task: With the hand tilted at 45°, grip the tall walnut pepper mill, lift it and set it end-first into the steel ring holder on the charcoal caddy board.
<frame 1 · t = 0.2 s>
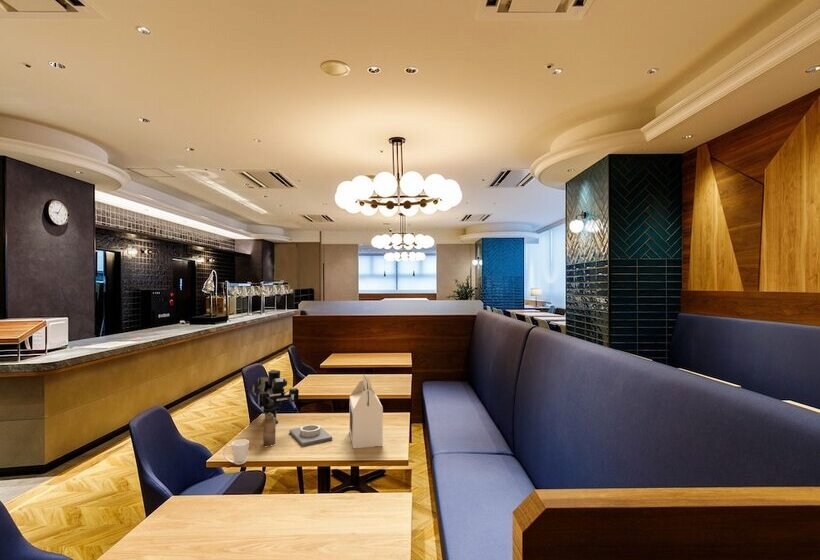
hand: (283, 402, 196), 17 cm above the table, tool horizontal, fingers open, 9 cm apart
caddy board: (310, 436, 198), on the table
gable box: (365, 439, 196), on the table
pepper mill: (269, 444, 188), on the table
cup: (236, 462, 169), on the table
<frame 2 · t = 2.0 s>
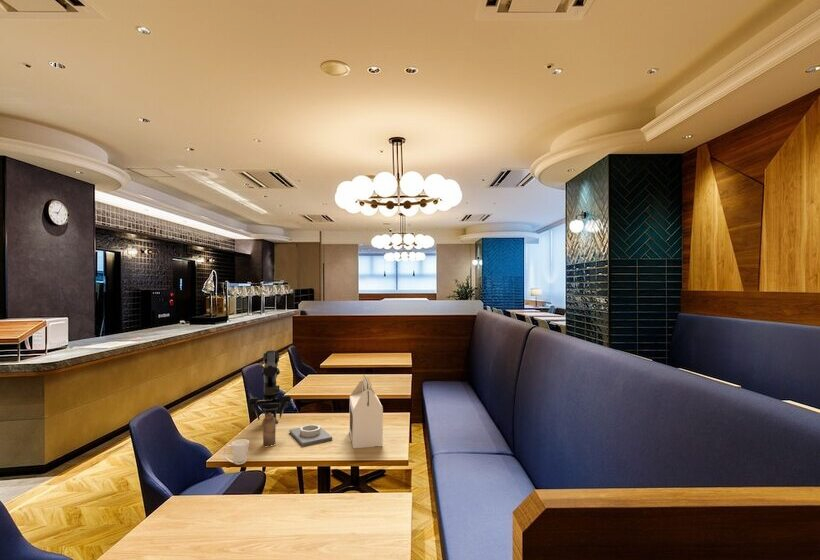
hand: (269, 418, 191), 11 cm above the table, tool tilted 45°, fingers open, 9 cm apart
nothing on the table moved.
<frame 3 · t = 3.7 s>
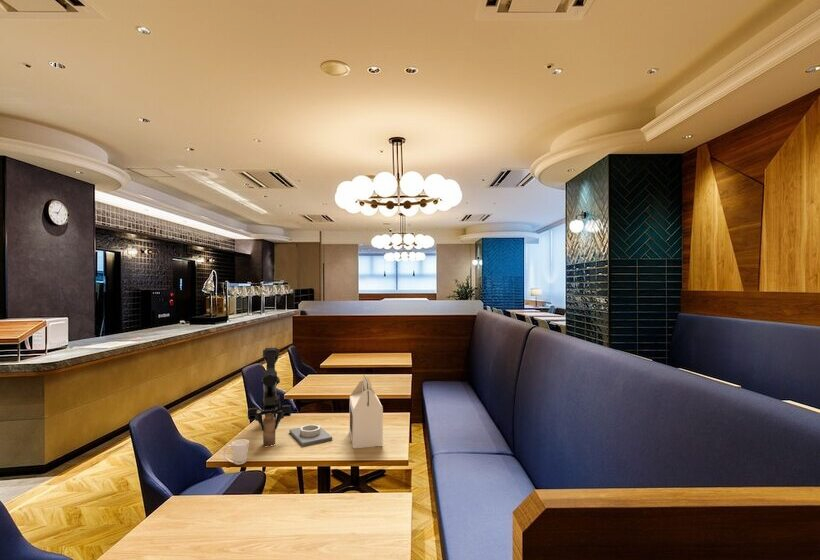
hand: (269, 429, 186), 7 cm above the table, tool tilted 45°, fingers closed on pepper mill, 5 cm apart
pepper mill: (269, 444, 188), on the table, touching gripper
everything else where it was.
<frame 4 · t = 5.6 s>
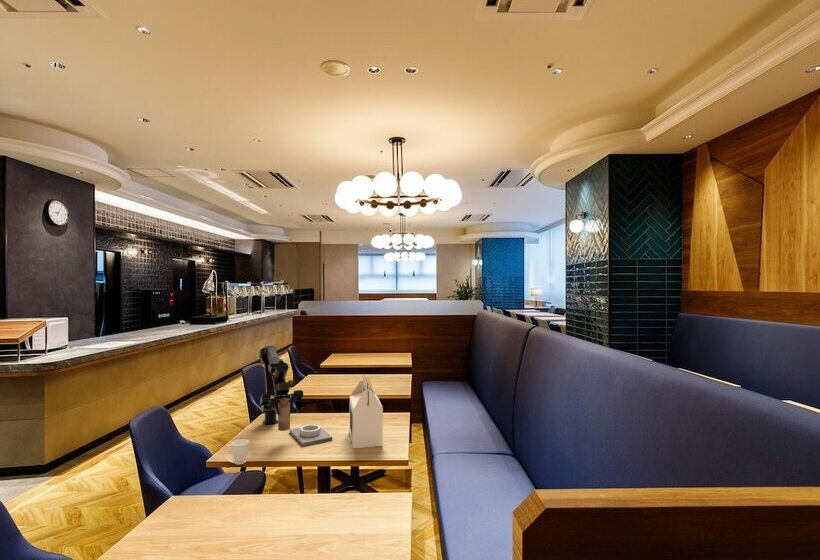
hand: (284, 414, 189), 13 cm above the table, tool tilted 45°, fingers closed on pepper mill, 5 cm apart
pepper mill: (284, 428, 190), point 6 cm above the table, touching gripper
everything else where it was.
when the fingers open (9 cm above the table, at t = 7.8 s): pepper mill stays where it is, resting on caddy board.
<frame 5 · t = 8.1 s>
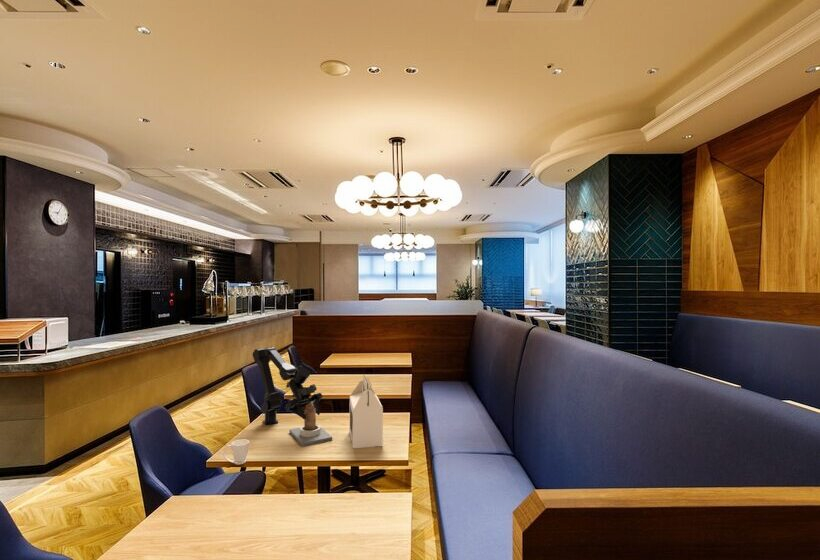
hand: (312, 416, 197), 10 cm above the table, tool tilted 45°, fingers open, 8 cm apart
pepper mill: (310, 433, 198), point 2 cm above the table, touching caddy board
everything else where it was.
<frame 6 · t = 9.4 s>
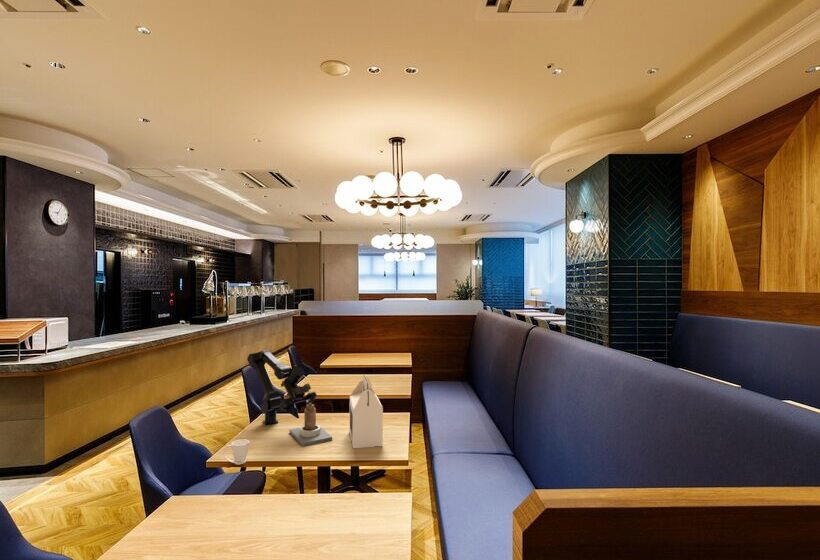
hand: (306, 415, 200), 9 cm above the table, tool tilted 45°, fingers open, 9 cm apart
nothing on the table moved.
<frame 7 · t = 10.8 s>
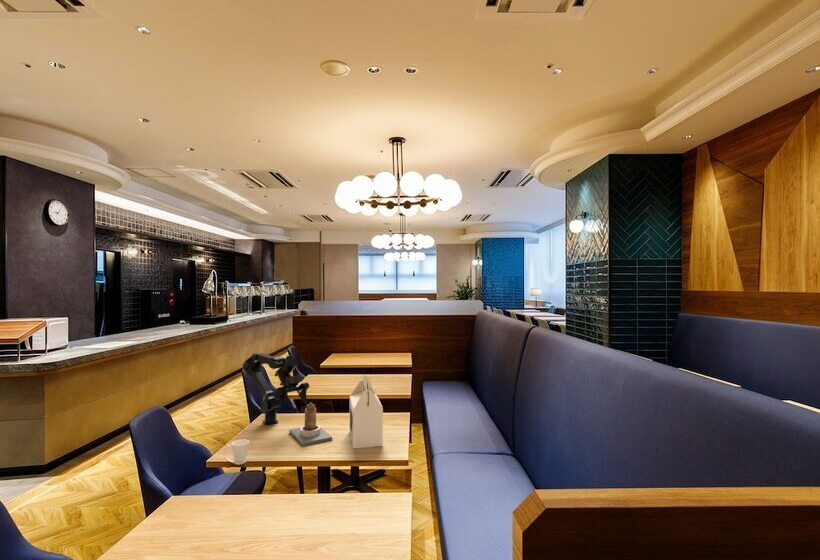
hand: (298, 404, 203), 13 cm above the table, tool tilted 45°, fingers open, 9 cm apart
nothing on the table moved.
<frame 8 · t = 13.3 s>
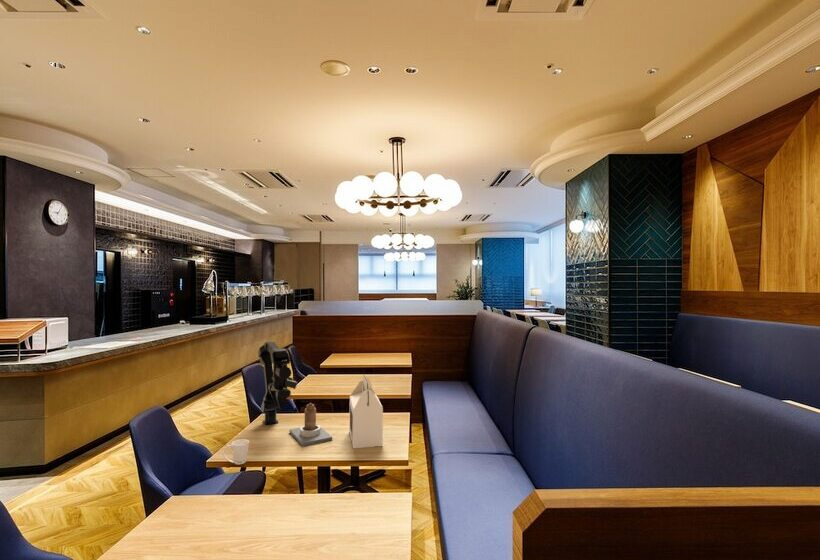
hand: (279, 407, 204), 12 cm above the table, tool pointing down, fingers open, 9 cm apart
nothing on the table moved.
at the end: pepper mill 0.1 cm off-centre on the caddy board, point 1.6 cm above the caddy board's base; pepper mill tilted 2°; the gripper is holding nothing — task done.
